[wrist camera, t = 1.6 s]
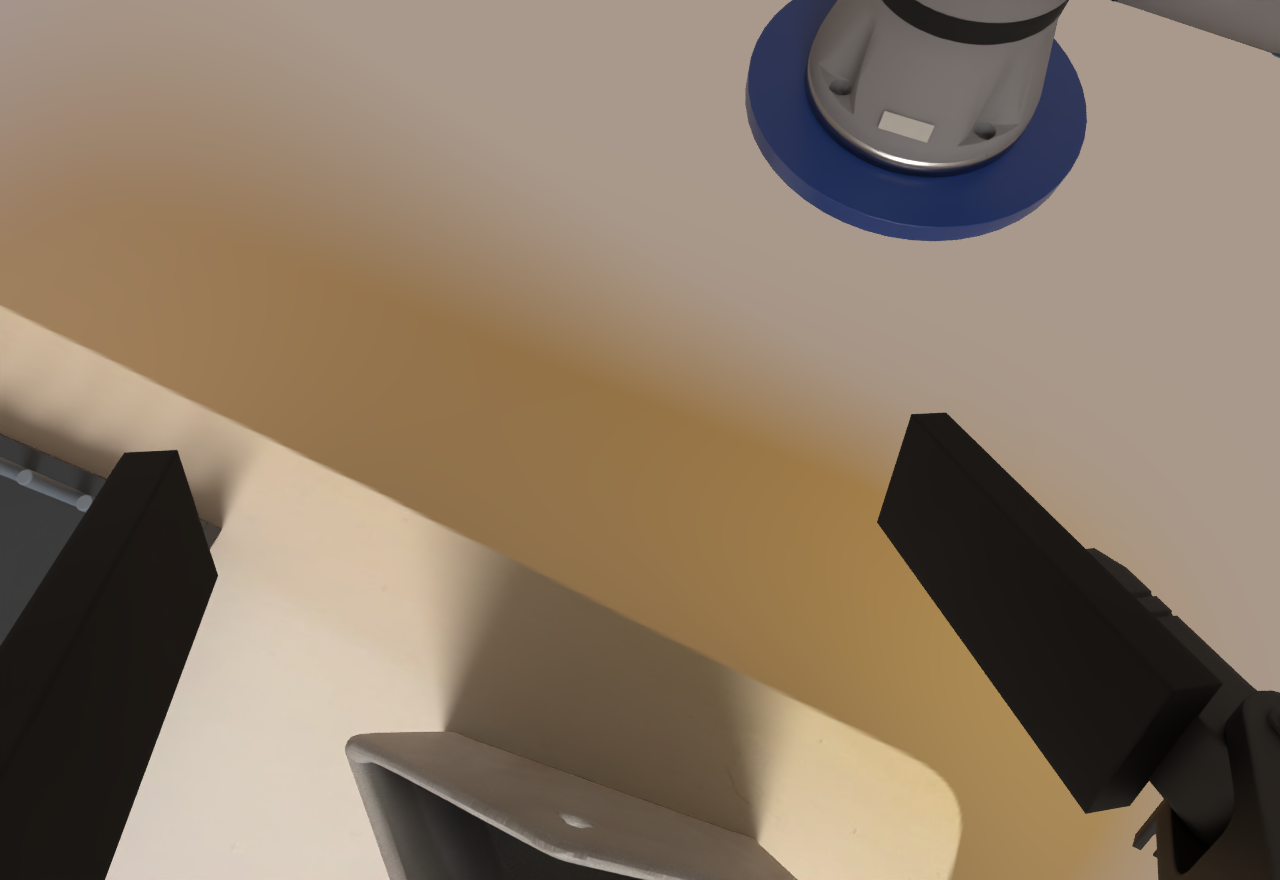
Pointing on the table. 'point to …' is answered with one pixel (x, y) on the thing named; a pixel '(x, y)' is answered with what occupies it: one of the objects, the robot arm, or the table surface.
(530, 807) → the planter
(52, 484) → the dish rack
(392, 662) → the table surface
